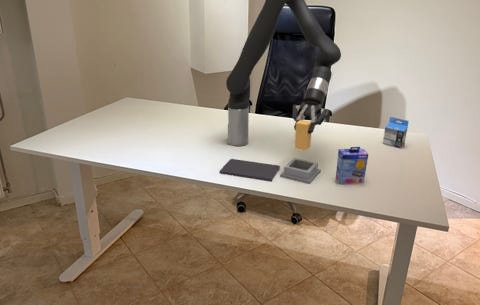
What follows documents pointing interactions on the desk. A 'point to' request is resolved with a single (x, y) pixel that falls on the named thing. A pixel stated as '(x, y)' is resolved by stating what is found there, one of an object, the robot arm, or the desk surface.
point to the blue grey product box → (395, 132)
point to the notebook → (250, 169)
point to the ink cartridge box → (351, 165)
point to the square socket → (301, 170)
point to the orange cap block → (302, 135)
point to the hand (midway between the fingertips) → (302, 131)
